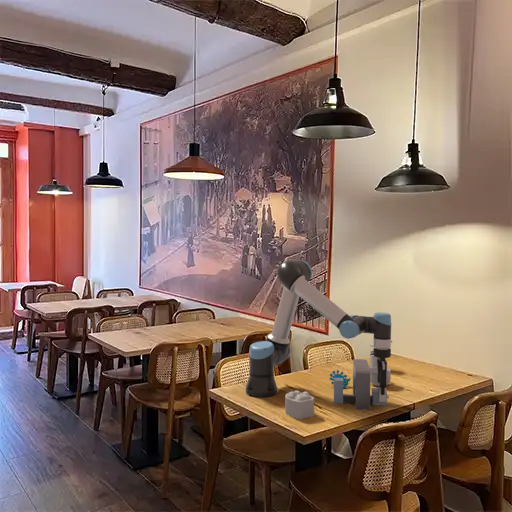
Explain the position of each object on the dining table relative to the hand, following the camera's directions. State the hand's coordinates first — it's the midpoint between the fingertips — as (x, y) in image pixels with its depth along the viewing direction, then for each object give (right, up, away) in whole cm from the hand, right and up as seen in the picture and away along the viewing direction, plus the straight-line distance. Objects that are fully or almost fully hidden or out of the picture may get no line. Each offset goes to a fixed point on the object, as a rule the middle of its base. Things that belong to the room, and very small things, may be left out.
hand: (381, 399), depth 221 cm
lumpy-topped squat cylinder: (-38, -2, -13) cm, 40 cm away
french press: (+13, 0, +59) cm, 60 cm away
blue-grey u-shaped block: (-9, -2, +1) cm, 9 cm away
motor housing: (-9, -2, +1) cm, 9 cm away
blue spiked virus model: (-14, -1, +25) cm, 29 cm away
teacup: (+7, -1, +29) cm, 30 cm away
